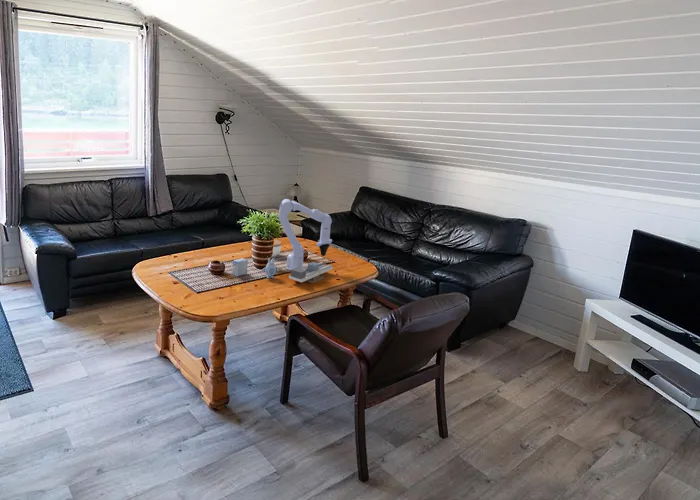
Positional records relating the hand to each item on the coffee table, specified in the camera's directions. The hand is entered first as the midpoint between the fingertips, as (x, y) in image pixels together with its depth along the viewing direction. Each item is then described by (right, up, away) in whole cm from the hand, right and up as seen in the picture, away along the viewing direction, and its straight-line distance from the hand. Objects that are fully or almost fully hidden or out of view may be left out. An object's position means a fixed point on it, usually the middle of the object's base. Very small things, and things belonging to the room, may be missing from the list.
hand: (323, 255), depth 315 cm
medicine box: (-48, -11, -18) cm, 52 cm away
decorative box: (-35, 0, +21) cm, 41 cm away
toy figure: (-30, -13, -18) cm, 37 cm away
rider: (-5, -9, -12) cm, 16 cm away
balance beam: (-7, -13, -12) cm, 19 cm away
